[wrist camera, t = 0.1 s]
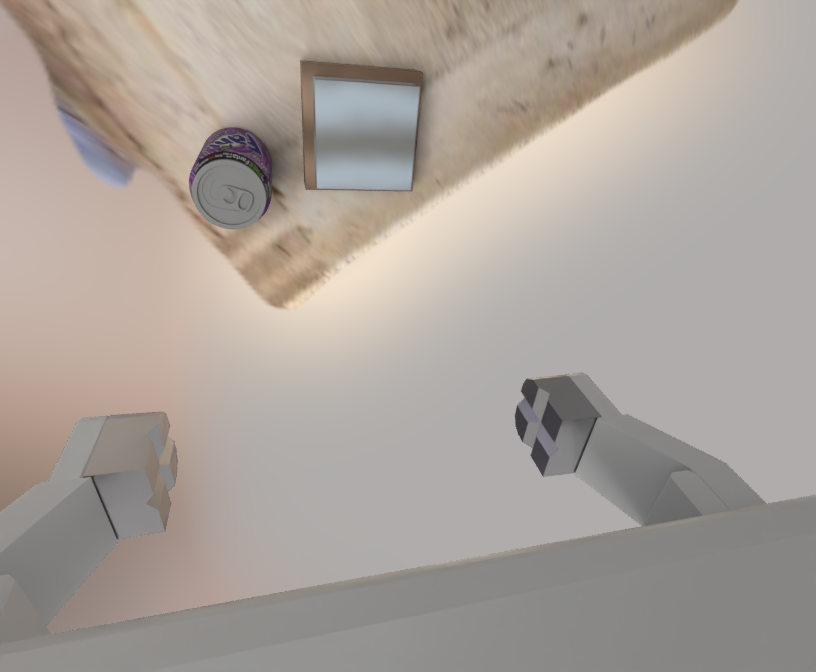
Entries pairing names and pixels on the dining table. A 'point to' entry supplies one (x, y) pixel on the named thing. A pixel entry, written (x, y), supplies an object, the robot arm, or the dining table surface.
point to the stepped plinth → (359, 126)
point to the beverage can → (232, 179)
